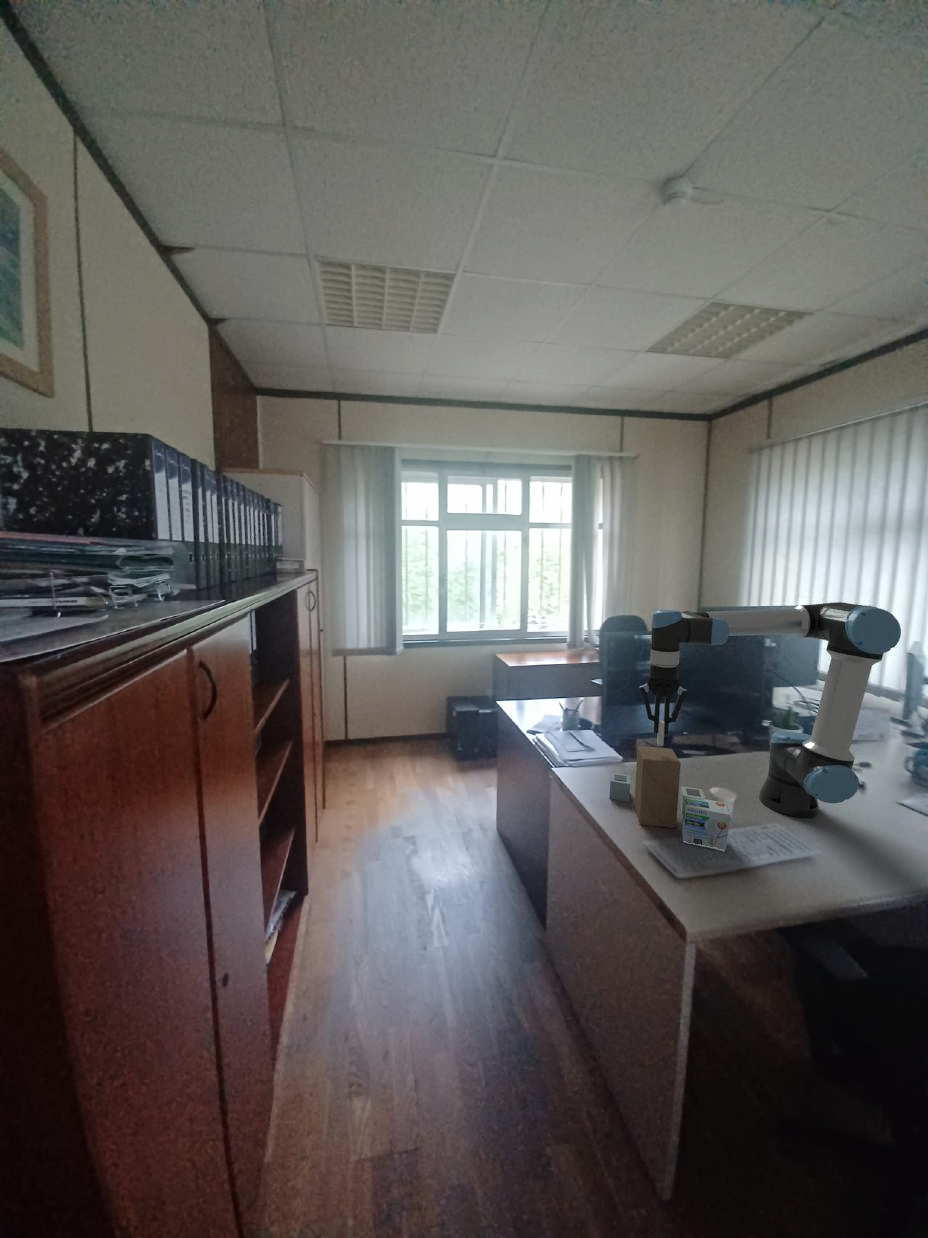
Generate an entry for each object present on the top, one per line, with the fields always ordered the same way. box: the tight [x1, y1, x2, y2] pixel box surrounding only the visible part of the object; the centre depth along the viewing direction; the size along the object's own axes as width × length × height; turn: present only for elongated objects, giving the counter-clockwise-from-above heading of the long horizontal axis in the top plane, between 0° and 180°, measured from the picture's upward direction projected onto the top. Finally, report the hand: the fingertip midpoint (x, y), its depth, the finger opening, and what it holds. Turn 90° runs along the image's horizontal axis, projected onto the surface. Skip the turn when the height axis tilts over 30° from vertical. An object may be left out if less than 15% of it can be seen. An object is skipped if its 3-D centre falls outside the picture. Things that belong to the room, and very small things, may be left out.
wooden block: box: [633, 745, 681, 829], centre depth 136 cm, size 10×10×20 cm
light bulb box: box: [681, 796, 730, 850], centre depth 125 cm, size 11×7×11 cm, turn 68°
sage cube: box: [679, 785, 706, 815], centre depth 140 cm, size 6×6×6 cm
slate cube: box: [609, 772, 631, 802], centre depth 149 cm, size 6×6×6 cm
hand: (660, 743), depth 134 cm, fingers closed
